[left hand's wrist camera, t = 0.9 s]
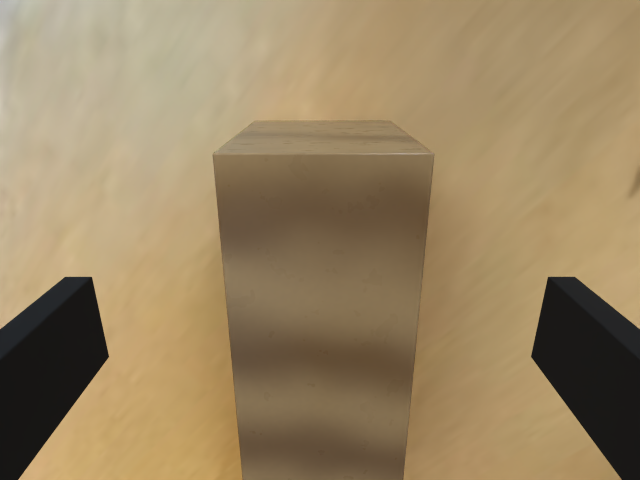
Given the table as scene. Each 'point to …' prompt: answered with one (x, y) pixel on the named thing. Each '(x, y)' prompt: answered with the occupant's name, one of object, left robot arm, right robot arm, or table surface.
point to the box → (323, 293)
